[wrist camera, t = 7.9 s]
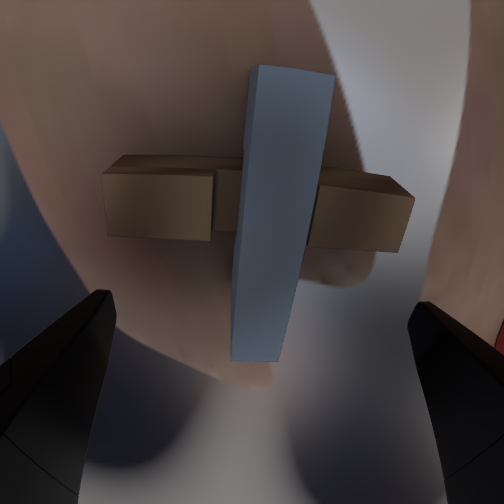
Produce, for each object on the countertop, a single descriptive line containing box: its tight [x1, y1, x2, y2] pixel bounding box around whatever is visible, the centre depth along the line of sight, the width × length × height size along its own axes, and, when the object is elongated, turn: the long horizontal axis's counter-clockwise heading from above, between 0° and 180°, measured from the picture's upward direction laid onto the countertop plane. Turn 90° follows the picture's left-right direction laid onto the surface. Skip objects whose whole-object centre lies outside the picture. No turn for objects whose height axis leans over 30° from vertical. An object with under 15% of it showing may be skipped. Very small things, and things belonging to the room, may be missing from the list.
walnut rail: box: [102, 155, 415, 253], centre depth 15 cm, size 14×3×3 cm, turn 85°
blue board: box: [231, 64, 335, 362], centre depth 14 cm, size 2×12×6 cm, turn 174°
